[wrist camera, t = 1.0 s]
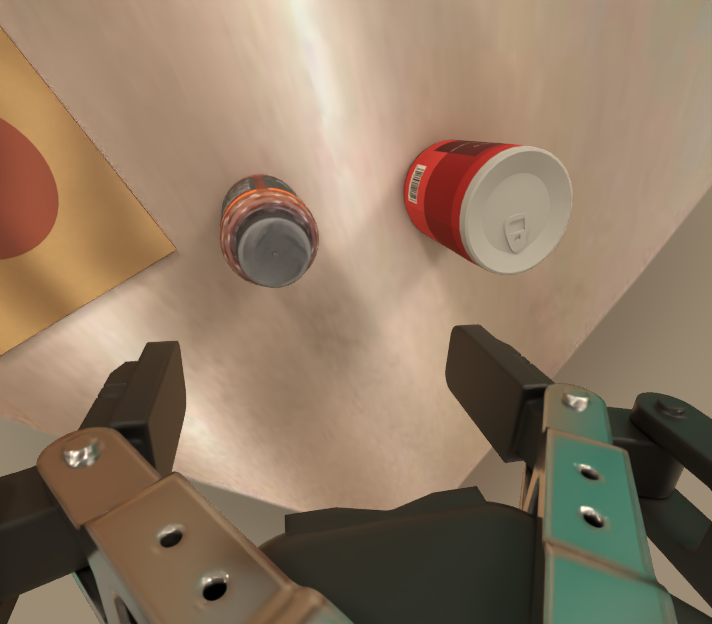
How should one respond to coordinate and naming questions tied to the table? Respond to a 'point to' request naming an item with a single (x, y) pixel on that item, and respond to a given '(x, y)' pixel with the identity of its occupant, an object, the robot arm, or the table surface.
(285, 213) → the supplement bottle
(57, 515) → the robot arm
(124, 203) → the placemat
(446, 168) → the canned food
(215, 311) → the table surface
